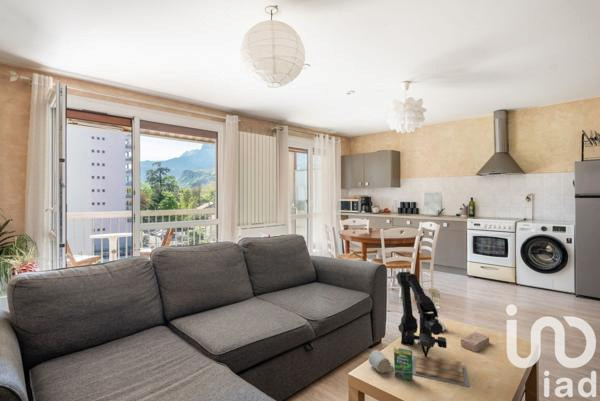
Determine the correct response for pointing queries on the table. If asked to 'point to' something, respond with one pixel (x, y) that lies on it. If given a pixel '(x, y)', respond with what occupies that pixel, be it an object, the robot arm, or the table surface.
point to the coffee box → (403, 363)
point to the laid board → (440, 373)
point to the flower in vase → (436, 294)
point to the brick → (475, 341)
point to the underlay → (442, 379)
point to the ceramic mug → (379, 362)
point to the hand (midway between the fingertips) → (425, 356)
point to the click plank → (439, 362)
